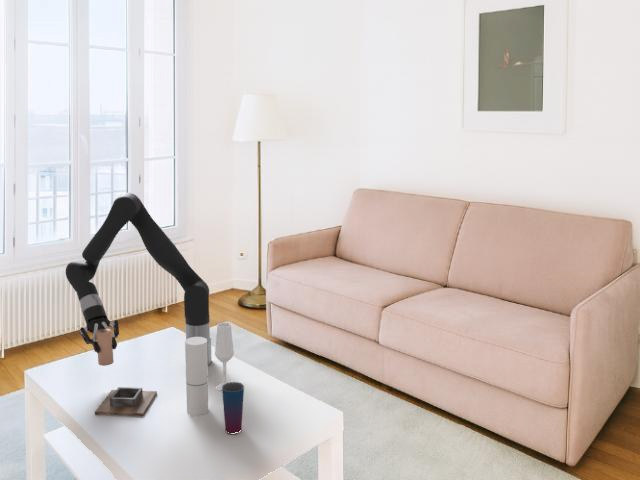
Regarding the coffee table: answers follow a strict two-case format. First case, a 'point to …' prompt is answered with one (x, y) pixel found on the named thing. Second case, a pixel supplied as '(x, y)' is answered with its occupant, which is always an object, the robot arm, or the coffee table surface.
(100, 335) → the roll
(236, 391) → the cup
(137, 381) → the coffee table surface
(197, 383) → the cylindrical container
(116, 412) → the holder
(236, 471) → the coffee table surface
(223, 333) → the champagne flute
